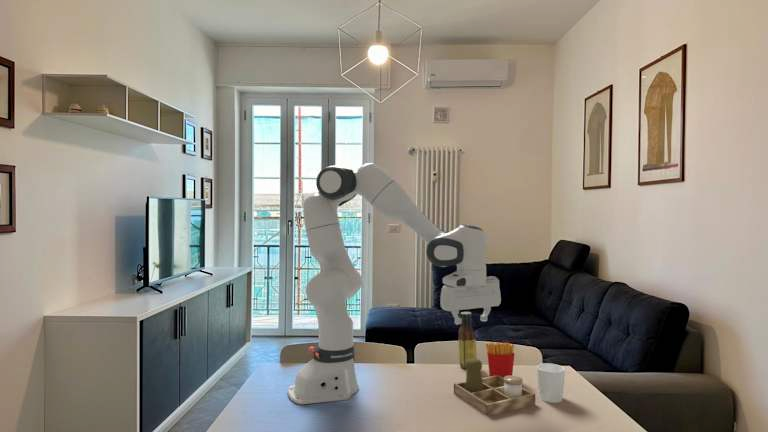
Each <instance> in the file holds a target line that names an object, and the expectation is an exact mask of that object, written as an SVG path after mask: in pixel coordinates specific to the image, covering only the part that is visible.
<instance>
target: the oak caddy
mask: <svg viewBox="0 0 768 432" xmlns="http://www.w3.org/2000/svg"><path fill="white" fill-rule="evenodd" d="M482 382H483V387H484V390H483V391H478V392H473V393H470V392H469V391H467V390H465V388H466V380H465V381H461V382H455V383H453V394H454V395H455V396H457V397H459V398H460V399H461V400H463V401H465V402H466V403H467V404H469V405H471V406H472V407H474V409H477V410H478V411H479V412H481V413H482V414H484V415H485V416H486V417H488V416H493V415H499V414H502V413H505V412H509V411H513V410H519V409H522V408H527V407H530V406H531V407H532V406H534V405H536V394H535V393H533V392H532V391H530V390H528V389H526V388H524V387H522V396H520V397H515V398H510V397H508V396H506V395H505V394H504V378H503V377H501V376H499V375H496V376H490V375H489V376H486V377H482Z"/></svg>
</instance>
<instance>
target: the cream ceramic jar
mask: <svg viewBox="0 0 768 432" xmlns="http://www.w3.org/2000/svg"><path fill="white" fill-rule="evenodd" d="M522 388H523V378H522V377H521V376H518V375H513V374H512V375H510V376H505V377H504V394H505V395H506V396H508V397H510V398H515V397H520V396H522Z"/></svg>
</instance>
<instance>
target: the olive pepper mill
mask: <svg viewBox="0 0 768 432" xmlns="http://www.w3.org/2000/svg"><path fill="white" fill-rule="evenodd" d="M465 368H466V369H465ZM465 368H464V369H465V370H466V376H465V377H466V378H465V381H466V388H465V390H467V391H469V392H470V393H473V392H478V391H483V390H484V387H483V382H482V378H483V376H482V371H481V370H482V368H483V363H482V361H481V360H480V359H468V360H466V362H465Z"/></svg>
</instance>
